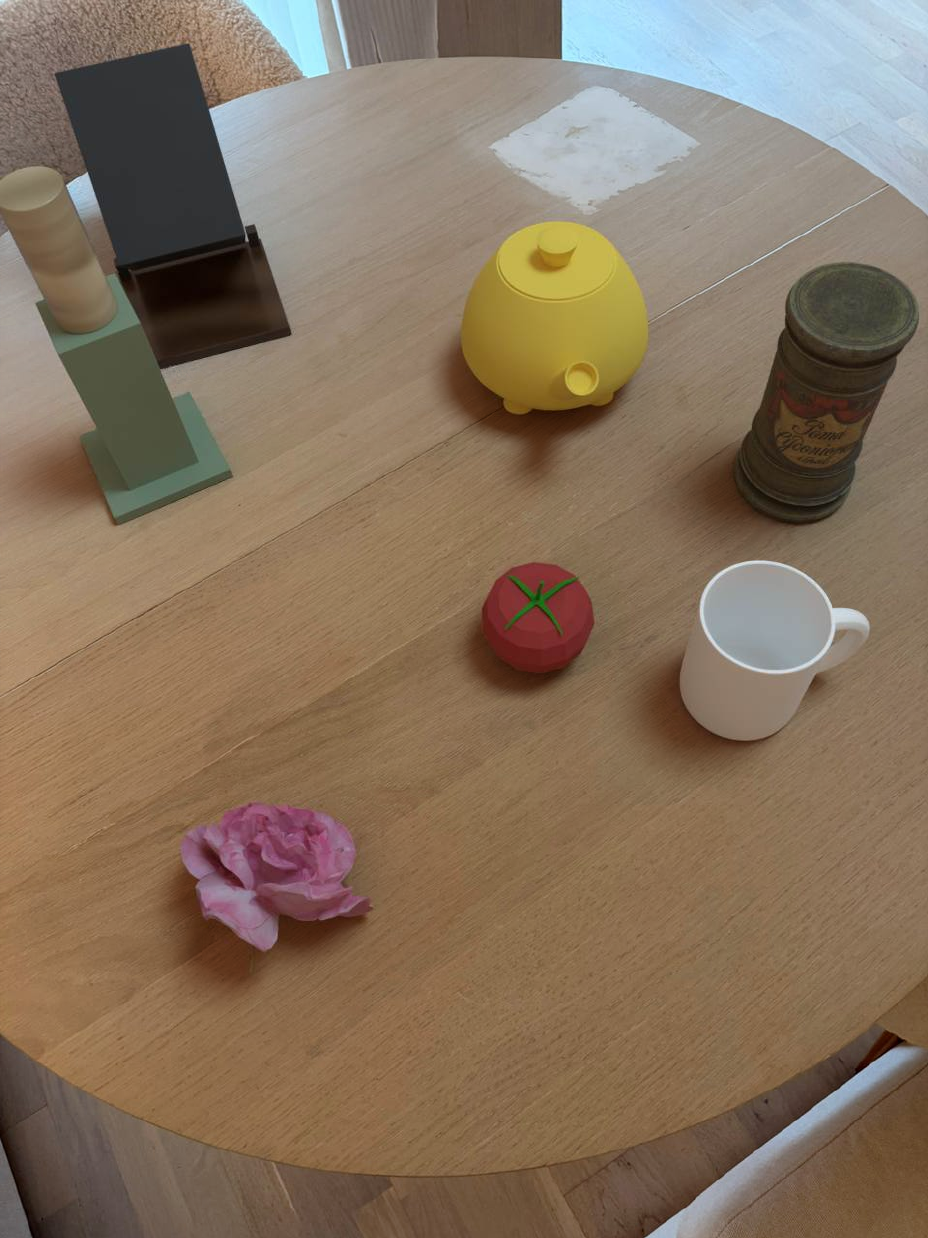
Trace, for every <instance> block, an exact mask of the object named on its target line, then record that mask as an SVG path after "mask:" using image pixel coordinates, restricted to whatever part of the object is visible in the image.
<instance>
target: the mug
mask: <svg viewBox="0 0 928 1238" xmlns="http://www.w3.org/2000/svg"><path fill="white" fill-rule="evenodd" d="M693 620H694V621H693V624H692V627H691V631H690V635H689V638H688V642H687V646H686V649H685V652H684V656H683V659H682V663H681V667H680V673H679V691H680V696H681V698H682V701H683V704H684V706H685V708H686V710H687V712H689V714H690V715H691V717H692V718H694V720H695V721H696V722H697V723H698V724H699V725H701V726H702V727H703V728H704V729H706V730H708V731H709V732H710V733H713V734H715V735H717V736H719V737H721V738H725V739H729V740H732V741H733V740H734V741H744V742H745V741H747V742H749V741H756V740H760V739H761V740H762V739H764V738H767V737H770V736H771V735H773V734H776V733H778V731H780V730H782V729H783V727H785V726H786V725H787V724H788V723H789V722H790V720H791V719H792V718H793V716H795V714H796V713H797V710H798V708H799V706H800V705H801V702H802V701H803V699H804V697H805V695H806V693H807V691H808V689H809V687H810V685H811V683H812V681H813V680H814V679H815V678H814V677H815V676H816V675H817V674H820V673H823V672H826V671H829V670H831V669H833V668H835V667H837V666H839V665H841V664H843V663H845V662H846V661H848V660H849V659H850V658H851V657H853V656H854V655H856V653H858V651H859V650H860V649H861V648H862V647H863V646H864V645H865V644H866V642H867V640H868V638H869V635H870V630H871V628H870V622H869V620H868V618H867V617H866V615H864V613H862V612H861V611H859V610H856V609H853V608H849V607H833V605H832V603H831V601H830V599H829V597H828V595H827V594H826V592H825V591H824V590H823V588H822V587H821V586H820V584H818V583H817V582H816V581H815V580H813V578H812V577H810V576H809V575H807V574H806V573H804V572H802V571H801V570H799V569H797V568H795V567H793V566H791V565H787V564H786V563H785V564H784V563H782V562H777V561H773V560H772V561H771V560H757V559H756V560H747V561H742V562H738V563H735V564H733V565H730V566H727V567H726V568H724V569H722V570H721V571H719V572H718V573H717V574H715V575H714V576H713V577H712V578H711V579H710V581H709V582H708V583H707V584H706V586H705V588H704V589H703V591H702V594H701V596H700V599H699V602H698V606H697V609H696V613H695V617H694V619H693ZM841 631H843V632H845V631H846V632H845V634H844V635H843V636H842V638H840V639H839V640H838V641H837V642H836V643H833V641H834V638H835V635H836V634H835V633H837V632H841ZM832 643H833V645H832Z"/></svg>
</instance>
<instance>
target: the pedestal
mask: <svg viewBox="0 0 928 1238" xmlns="http://www.w3.org/2000/svg"><path fill="white" fill-rule="evenodd" d="M105 276H106V278H107V280H108V283H109V285H110V287H111V290H112V292H113V294H114V296H115V299H116V301H117V305H118V308H117V312H116V315H115V317H114V318H113V319H112V320H111V321H110V323H108V324H107V325H106V326H104V327H103V328H101V329H99V330H96V331H94V332H90V333H85V334H74V333H69V332H66V331H64V330H63V329H61V328H60V327H59V326H58V325H57V323H56V321H55V319H54V317H53V315H52V313H51V311H50V309H49V307H48V305H47V303H46V301H45V299H44V298H43V299H41V300H38V301H35V302H34V304H35V306H36V308H37V310H38V313H39V315H40V317H41V320H42V322H43V325H44V326H45V329H46V331H47V334H48V336H49V338H50V340H51V342H52V345H53V347H54V349H55V352H56V354H57V356H58V358H59V359H60V361H61V364H62V365H63V367H64V369H65V371H66V373H67V375H68V377H69V379H70V380H71V382H72V385H73V386H74V388H75V390H76V392H77V394H78V395H79V398H80V399H81V401H82V403H83V405H84V407H85V409H86V411H87V412H88V414H89V416H90V418H91V420H92V422H93V424H94V426H95V427H96V428H95V429H93V430H90V431H87V432H85V433H83V434H81V435H79V437H78V438H79V440H80V442H81V444H82V446H83V449H84V452H85V453H86V456H87V458H88V460H89V463H90V465H91V468H92V470H93V472H94V475H95V477H96V479H97V481H98V483H99V486H100V489H101V491H102V494H103V496H104V498H105V500H106V502H107V505H108V507H109V510H110V512H111V514H112V516H113V519H114V520H115V522H116V524H117V525H122V524H124V523H126V522H129V521H131V520H134V519H136V518H138V517H141V516H143V515H145V514H148V513H150V512H152V511H155V510H158V509H160V508H162V507H164V506H166V505H169V504H172V503H173V502H176V501H178V500H182V499H184V498H185V497H188V496H190V495H192V494H195V493H197V492H200V491H202V490H204V489H207V488H210V487H211V486H214V485H216V484H218V483H221V482H223V481H226V480H229V479H230V478H232V477H234V475H233V472H232V470H231V468H230V465H229V464H228V461H227V460H226V458H225V456H224V454H223V452H222V451H221V448H220V447H219V444H218V443H217V441H216V439H215V437H214V435H213V433H212V431H211V430H210V427H209V426H208V424H207V422H206V420H205V418H204V416H203V414H202V412H201V410H200V409H199V407H198V405H197V402H196V401H195V399H194V398H193V395H192V393H191V392H190V391H188V392H185V393H183V394H180V395H178V396H175V397H172V394H171V392H170V389H169V387H168V385H167V383H166V380H165V377H164V376H163V373H162V370H161V369H160V368H159V366H158V363H157V361H156V358H155V356H154V354H153V351H152V349H151V347H150V344H149V342H148V339H147V337H146V335H145V332H144V330H143V328H142V325H141V323H140V321H139V319H138V317H137V315H136V313H135V311H134V309H133V307H132V305H131V303H130V302H129V300H128V298H127V296H126V294H125V292H124V290H123V288H122V286H121V284H120V282H119V279H118V275H116V273H112V274H109V275H105Z"/></svg>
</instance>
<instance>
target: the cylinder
mask: <svg viewBox="0 0 928 1238" xmlns="http://www.w3.org/2000/svg"><path fill="white" fill-rule="evenodd" d="M0 216H1V218H2V219H3V222H4V223H5V226H6V227H7V229H8V231H9V234H10V236H11V237H12V239H13V241H14V243H15V246H16V247H17V249H18V251H19V253H20V255H21V257H22V259H23V261H24V262H25V264H26V266H27V268H28V270H29V273H30V274H31V276H32V278H33V280H34V282H35V284H36V286H37V288H38V290H39V291H40V294H41V295H42V297H43V299H45V301H46V303H47V305H48V307H49V309H50V311H51V313H52V315H53V317H54V319H55V321H56V323H57V325H58V326H59V327H60V328H61V329H63V330H64V331H66V332H69V333H74V334H85V333H90V332H94V331H96V330H99V329H101V328H103V327H104V326H106V325H107V324H108V323H110V321H111V320H112V319H113V318H114V317H115V315H116V312H117V308H118V305H117V301H116V299H115V296H114V294H113V292H112V290H111V287H110V285H109V283H108V280H107V278H106V276H107V275H106V274H105V272H104V271H105V270H104V269H103V267H102V265H101V262H100V260H99V257H98V256H97V253H96V251H95V249H94V246H93V244H92V242H91V240H90V237H89V235H88V232H87V230H86V228H85V226H84V223H83V221H82V219H81V216H80V214H79V212H78V209H77V208H76V205H75V203H74V201H73V198H72V196H71V194H70V191H69V189H68V187H67V184H66V182H65V180H64V178H63V176H62V174H60V173H59V171H57V170H56V169H54V168H51V167H48V166H43V165H42V166H40V165H36V166H27V167H23V168H20V169H19V168H18V169H16V170H14V171H12V172H10V173H8V174H6V175H5V176H4V177H2V178H1V179H0Z"/></svg>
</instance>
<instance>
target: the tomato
mask: <svg viewBox="0 0 928 1238" xmlns="http://www.w3.org/2000/svg"><path fill="white" fill-rule="evenodd" d="M481 625H482V632H483V633H484V636H485V638H486V640H487V642H488V643H489V645H490V646H491V648H492V650H493V651H494V653H495V655H496V656H497V658H498V659H500V661H503V662H504V663H506V664H507V665H509V666H511V667H512V668H513V669H516V670H517V671H522V672H531V673H537V674H544V673H548V672H551V671H555V670H560V669H563V668H565V667H566V666H567V665H569V664H570V663H571V662H572V661H573V660H575V659H576V658H577V657H578V656H580V655H581V653H582V652H583V650H584V648H585V646H586V644H587V642H588V639H589V637H590V635H591V632H592V630H593V628H594V626H595V618H594V608H593V602H592V599H591V596H590V595H589V593H588V591H587V590H586V588H585V587H584V585H583V584H582V583H581V581H580V577H579V576H576V575H575V574H573V573H572V572H570V571H568V570H566V569H565V568H563V567H561V566H559V565H558V564H554V563H553V564H552V563H546V562H545V563H544V562H538V561H537V562H536V561H531V562H529V563H524V564H521V565H517V566H513V567H511V568H509V570H507V571H505V572H504V573H503V574H502V575H501V576H499V577H497V578H496V579H495V580H494V583H493V585H492V586H491V589H490V590H489V592H488V594H487V597H486V599H485V600H484V603H483V605H482V606H481Z"/></svg>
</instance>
